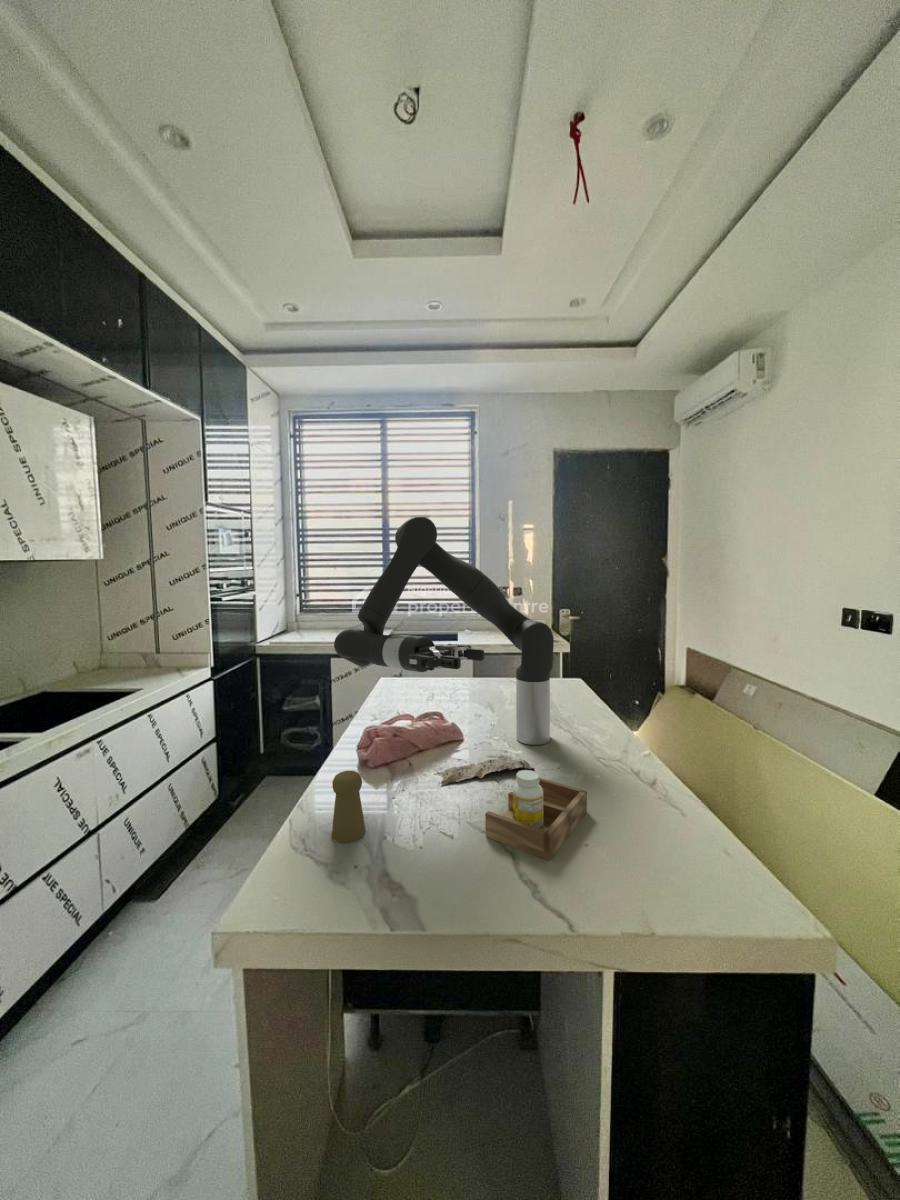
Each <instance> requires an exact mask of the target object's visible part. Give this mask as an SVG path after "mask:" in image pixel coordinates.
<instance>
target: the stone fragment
mask: <svg viewBox="0 0 900 1200" xmlns="http://www.w3.org/2000/svg"><path fill="white" fill-rule="evenodd" d="M519 768H521V769H522V768H523V769H529V770H531V769H532V771H534V772H536V771H535V768H534V767H531V764H530V763H529V762H528V761H527V760H525V759H521V758H518V759H516V758H515V759H512V758H510V757H504V758H503V757H500V758H498V759H493V758H492V759H487V760H486V761H483V762H479V763H477V764H475V763H470V764H467V765H460V766H458V767H457V766H453V767H452V766H451V767H450V768H447V769H445V770H444V771H440V772H437V773H434V774H433V776H437V775H439V776H440V777H441V778H442V780H441V781H440V784H441V785H440V787H444V786H446V785H448V784H450V783H454V782H461V781H464V780H468V779H472V778H474V777H478V778H480V779H481V778H484V776H485V775H487V774H490V773H492V772H494V773H495V772H500V771H504V770H507V769H508V770H510V771H511V770H514V769H519Z"/></svg>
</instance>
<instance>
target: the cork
mask: <svg viewBox="0 0 900 1200" xmlns="http://www.w3.org/2000/svg"><path fill="white" fill-rule="evenodd" d="M331 784H332V790H333V792H334V794H335V798H334V799H335V800H334V808H333V819H332V828H331V839H332V840H333V841H334V842H336V843H339V844H342V843H343V844H349V843H354V842H356V841H358V840H360V839H362V838H363V837H364V836H365V834H366V831H367V830H366V825H365V818H364V812H363V808H362V800H361V799H362V798H361V795H360V794H361V793H360V790H361V789H362V787H363V786H362V785H363V779H362V776H361V774H360V773H359V772H358V771H356V770H343V771H340V772H339V773H337V774H336V775H335V776H334V777H333V779H332V783H331Z"/></svg>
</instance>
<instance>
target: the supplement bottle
mask: <svg viewBox="0 0 900 1200" xmlns="http://www.w3.org/2000/svg"><path fill="white" fill-rule="evenodd" d="M515 778H516V781H515V782H516V783H515V784H514V785H513V787H512V792H513V820H516V821H519V822H522V823H525V824H528V825H530V826H533V827H536V828H539V829H542V830H543V789H542V787H541V786H540V785H539V782H540V781H539V778H540V774H539V773H538V772H537V771H534V770H531V769H529V770H528V769H522V770H518V772H517V773H516V777H515Z"/></svg>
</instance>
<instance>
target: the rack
mask: <svg viewBox="0 0 900 1200" xmlns="http://www.w3.org/2000/svg"><path fill="white" fill-rule="evenodd" d="M539 781H540V782H539V785H540V786H541V787H542V789H543V830H542V829H539V828H536V827H533V826H530V825H528V824H525V823H522V822H519V821H516V820H513V791H509V793H508V796H507V797H508V805H507V806H508V809H507V810H506V811H504V812H503V813H502V814H499V813H495V812H493V811H489V810H488V811H486V812H485V815H484V816H485V817H484V820H485V826H484V827H485V829H484V830H485V837H486V838H489V839H491V840H495V841H497V842H499V843H502V844H503V845H506V846H509V847H512V848H515V849H516V850H517V849H518V850H520V851H523V852H525V853H528V854H531V855H533V856H535V857H538V858H540V859H544V860H545V859H546V861H548V862H550V861H551V859H552V858H553V856H554V855H555V854H556V853H557V852H558V850H559V849H560V848H561V847H562V845H563V844H564V843H565V842H566V840H567V839H568V837H569V836H570V835H571V833H572V832H573V830H574V829H575V828H576V827H577V826H578V824H579V823H580V822H581V820H582V819H583V818H584V816H585V815H586V813H587V812H588V790H586V789H582V788H578V787H575V786H572V785H571V786H570V785H567V784H564V783H559V782H557V781H553V780H548V779H545V778H541V777H539Z"/></svg>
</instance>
